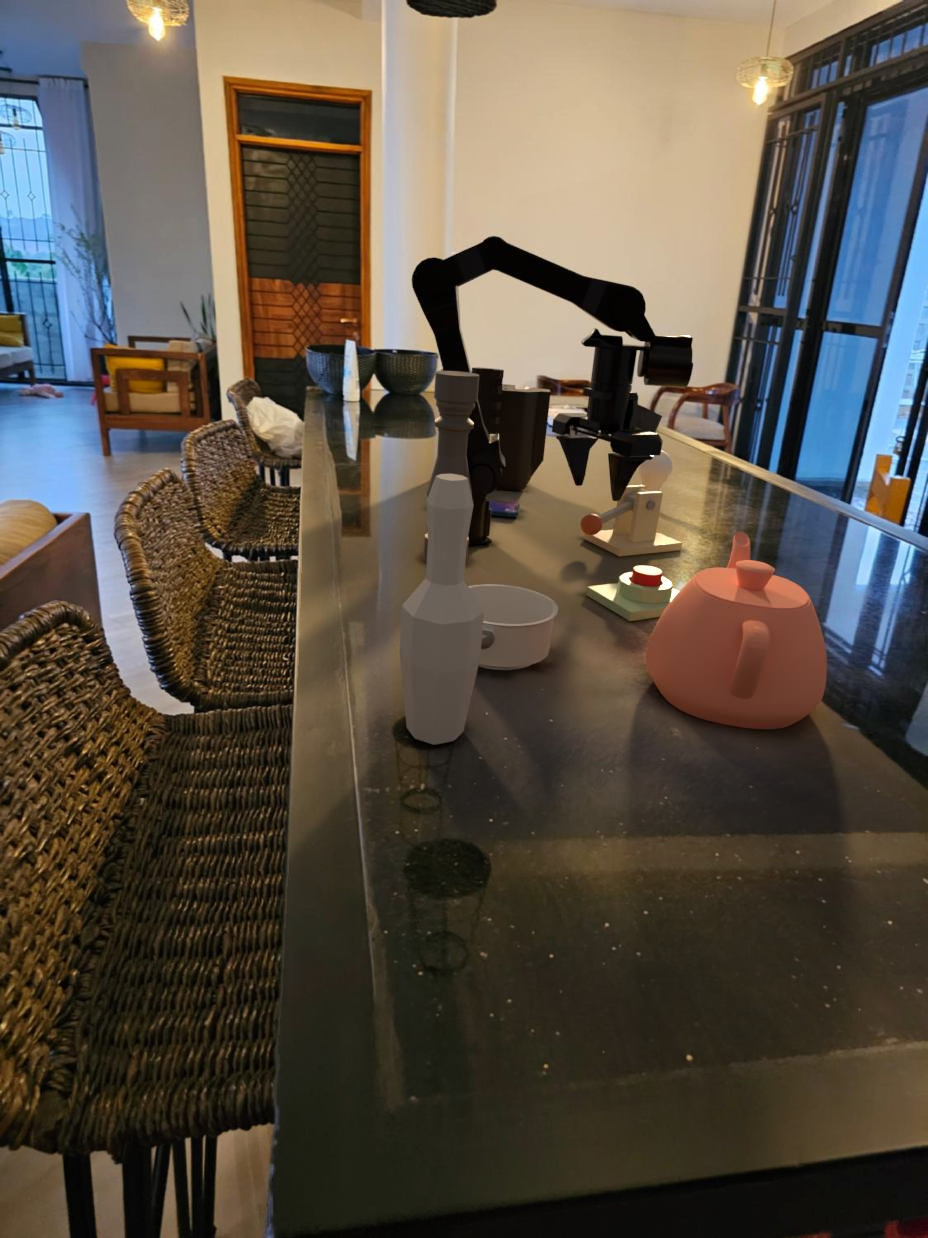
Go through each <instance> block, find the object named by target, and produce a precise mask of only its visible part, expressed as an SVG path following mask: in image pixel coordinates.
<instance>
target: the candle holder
mask: <svg viewBox="0 0 928 1238" xmlns="http://www.w3.org/2000/svg"><path fill="white" fill-rule="evenodd" d="M478 387H479V374H475V373H469V372H459V371H441V370H435V375H434V391H433V392H434V394H433V398H434V399H435V406H436V407H437V410H438V413H439V414H440V416H439V415H438V417H437V418H436V419H434V424H433V425H434V427H435V428H437V431H438V432H439V442H438V441H437V449H438V455H437V454H436V458H435V462H434V466H433V468H432V472H431V475H430V476H431V477H430V480H429V484H428V487H427V490H426V498H428V496H429V493H430V490H431V487H432V485H433V482H434V479H435V476H437V475H440V474H457V475H462V476H464V477H466V478H468V482H469V486H470V491H471V495H472V489H471V483H470V476H469V469H468V463H467V456H466V455H467V441H468V433H470V430H472V429H473V427H474V423H473V421H472V420H470V418H469V416H470V415H471V413H472V410H473V409H474V408H475V402H477V401H478ZM426 531H428V528H427V527H426ZM423 538H424V540H423V557H422V560H423V561H424V562H425V563H426V564H427V549H428V532H426V533H425V534H424V537H423ZM468 544H469V537H468V539H467V548H466V561H465V565H467V564H468V556H469V545H468Z"/></svg>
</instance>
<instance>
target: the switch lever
mask: <svg viewBox="0 0 928 1238" xmlns="http://www.w3.org/2000/svg"><path fill="white" fill-rule="evenodd" d="M636 492H649V491H646V490H644V489H639V490H637V491H635V492H633V493H631V494H629V495H627V502H625V503H623V504H621V505H619V506H617V505H616V506H617V507H616V506H615V507H613V508H611V509H610V510H607V511H605V512H604V513H601V514H599V515H597V514H595V513H588V514H585V515H584V516H583V517H582V518H581V521H580V529H581V531H582V532H583V533H584V535H585V534H587V535H595V534H597V533H598V532H599V531H601V530H602V528H603V525H604V524H606V523H608V522H610V521H611V520H613V519H614V520H615V518H616V517H618V516H620V515H622V514H624V513H626V512H628V511H630V510H631V511H633V508H634V502H635V495H636Z"/></svg>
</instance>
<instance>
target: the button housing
mask: <svg viewBox="0 0 928 1238" xmlns="http://www.w3.org/2000/svg"><path fill="white" fill-rule="evenodd" d="M632 572H633V571H629V572H624V573H622V574H620V575H619V576H618V582H615V583H606V584H597V585H591V586H590V585H589V586H587V588H586V593H585V594H586V596H587V597H588V598H590V599H592V600H594V601H595V602H597V603H598V604H600V605H602V606H603V607H605V608H607V609H609V610H610V611H612V612H614V613H615V614H617V615H619V616H621V617H622V618H623V619H625V620H627V621H628V622H635V621H641V620H647V619H654V618H660V617H661V615H662V613H663V612H664V610H665V609H666V607H667V606H668V605H669V603H670V602H671V601H672V600H673V598H674V597H675V596H676V595H677V594H678V592H679V591H680V590H678V589H676V588H674V584H673V582H672V581H671V580H670V579H668V578H666V577H665V576H662V578H661V583H660V586H657V587H648V586H641V585H637V584H635V583H633V582H631V578H632Z"/></svg>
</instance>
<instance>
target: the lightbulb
mask: <svg viewBox="0 0 928 1238" xmlns="http://www.w3.org/2000/svg"><path fill="white" fill-rule="evenodd" d="M672 471H673V460H672V458H671V456H670V454H668V452H666V451H665V450H662V449H661V455H656V456H654V457H653V458H652V460H646V461H645V462H644V463H642V464H641V465H640V466H639V467H638V468H637V474H638V476H639V480H640V483H641V485H644V486H646V488H645V490H646V491H649V492H650V491H660V492H661V490H662V487H663V485H664V484H665V482H666V481H667V480H668V478H669V477H670V475H671V473H672Z"/></svg>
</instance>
